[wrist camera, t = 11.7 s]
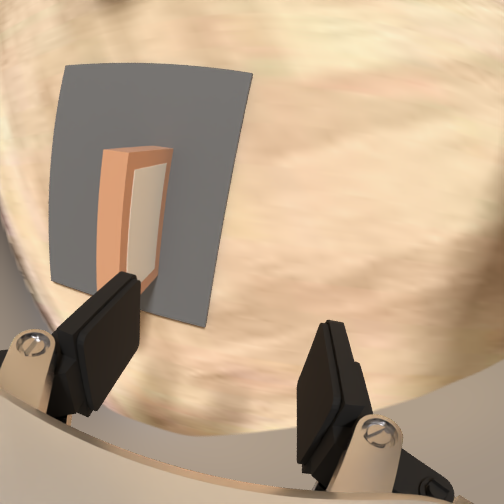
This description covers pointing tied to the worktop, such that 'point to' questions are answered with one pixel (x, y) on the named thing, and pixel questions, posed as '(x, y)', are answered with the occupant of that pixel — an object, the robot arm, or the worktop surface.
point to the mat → (180, 178)
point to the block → (131, 212)
